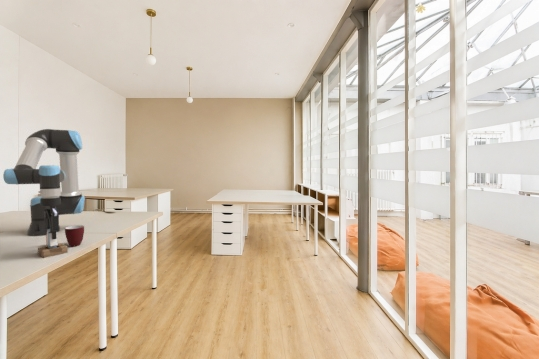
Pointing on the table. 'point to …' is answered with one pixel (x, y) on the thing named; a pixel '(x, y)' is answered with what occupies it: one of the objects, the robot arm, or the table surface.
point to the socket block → (52, 250)
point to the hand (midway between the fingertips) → (52, 244)
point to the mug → (74, 235)
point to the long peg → (49, 241)
